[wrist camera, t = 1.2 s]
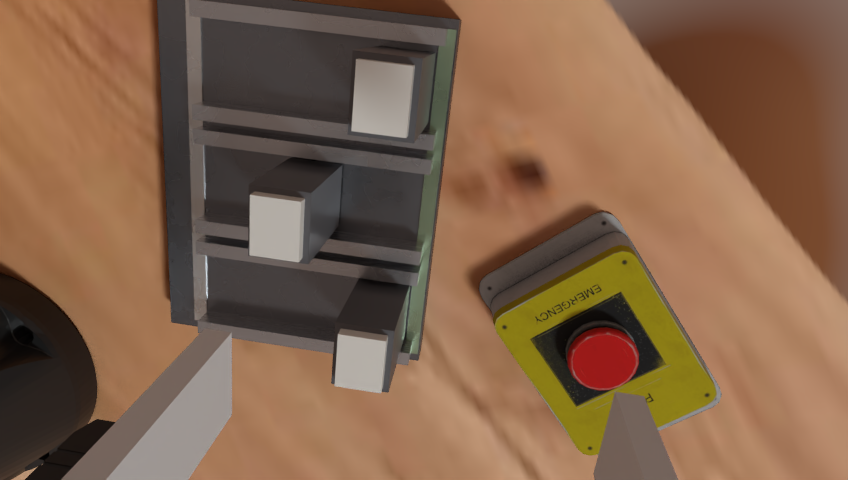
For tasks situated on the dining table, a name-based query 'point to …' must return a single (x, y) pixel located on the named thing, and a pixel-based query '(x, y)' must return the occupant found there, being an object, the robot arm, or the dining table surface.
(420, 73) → the block
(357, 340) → the breaker far
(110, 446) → the robot arm
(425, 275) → the panel
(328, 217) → the block
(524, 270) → the emergency button
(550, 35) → the dining table surface
